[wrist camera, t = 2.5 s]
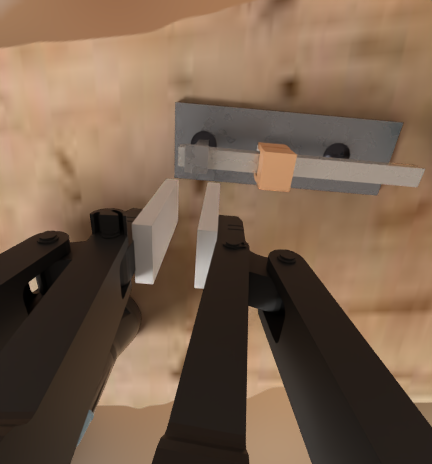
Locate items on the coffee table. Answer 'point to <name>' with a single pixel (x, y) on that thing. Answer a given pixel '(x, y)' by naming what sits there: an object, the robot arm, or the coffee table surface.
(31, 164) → the coffee table surface
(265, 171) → the block
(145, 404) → the coffee table surface
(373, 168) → the bar
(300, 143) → the flange plate
